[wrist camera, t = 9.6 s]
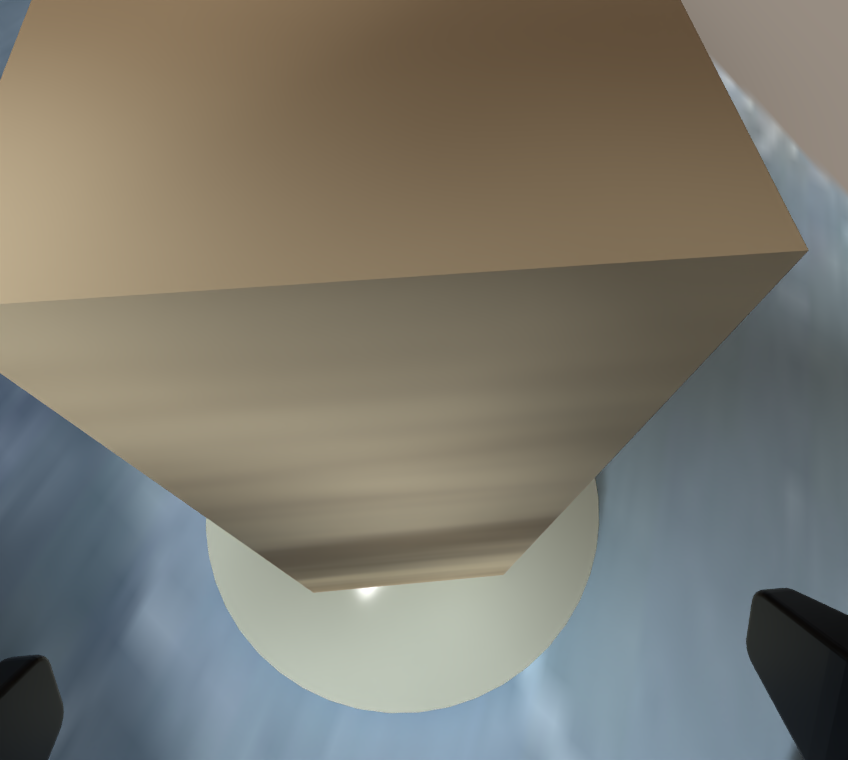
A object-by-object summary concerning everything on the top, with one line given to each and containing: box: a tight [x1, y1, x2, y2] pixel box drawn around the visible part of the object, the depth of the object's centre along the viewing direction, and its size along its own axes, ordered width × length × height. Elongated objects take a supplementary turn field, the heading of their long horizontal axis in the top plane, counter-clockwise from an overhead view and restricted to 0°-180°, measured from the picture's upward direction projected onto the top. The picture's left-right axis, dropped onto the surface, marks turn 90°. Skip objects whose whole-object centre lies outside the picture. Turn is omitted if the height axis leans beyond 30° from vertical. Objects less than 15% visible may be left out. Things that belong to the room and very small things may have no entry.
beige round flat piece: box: [206, 478, 599, 713], centre depth 16 cm, size 11×11×1 cm
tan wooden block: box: [0, 0, 808, 593], centre depth 10 cm, size 5×5×13 cm
